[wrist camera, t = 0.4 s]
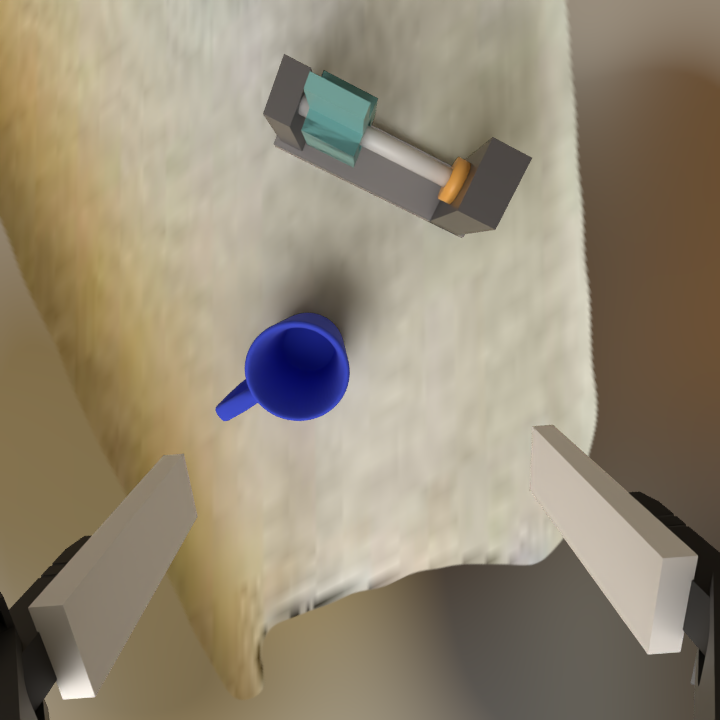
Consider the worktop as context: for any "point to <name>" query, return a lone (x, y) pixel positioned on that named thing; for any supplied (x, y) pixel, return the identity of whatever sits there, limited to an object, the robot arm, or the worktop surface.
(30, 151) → the worktop surface
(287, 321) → the mug
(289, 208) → the worktop surface
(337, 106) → the sleeve
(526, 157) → the grey slider rail stand
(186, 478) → the robot arm
